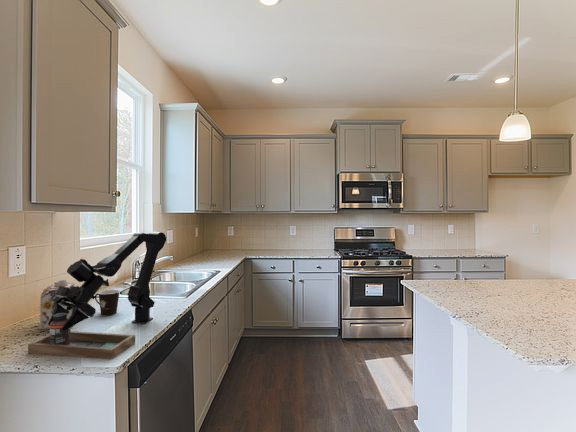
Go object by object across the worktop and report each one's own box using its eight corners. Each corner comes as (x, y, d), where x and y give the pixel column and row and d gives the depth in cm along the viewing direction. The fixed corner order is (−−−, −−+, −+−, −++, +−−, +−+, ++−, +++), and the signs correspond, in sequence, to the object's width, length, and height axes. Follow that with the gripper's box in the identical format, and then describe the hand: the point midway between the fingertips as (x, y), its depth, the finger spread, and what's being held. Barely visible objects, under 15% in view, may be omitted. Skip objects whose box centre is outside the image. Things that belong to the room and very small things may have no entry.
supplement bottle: (66, 341, 121) (67, 310, 121) (72, 346, 117) (73, 314, 117) (47, 346, 116) (47, 314, 116) (52, 351, 113) (53, 318, 112)
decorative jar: (49, 320, 143) (49, 279, 143) (80, 318, 147) (80, 277, 147) (39, 330, 132) (39, 284, 132) (73, 327, 136) (73, 283, 136)
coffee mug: (122, 313, 155) (122, 292, 155) (102, 317, 148) (102, 295, 148) (112, 308, 163) (112, 288, 162) (93, 312, 156) (93, 290, 156)
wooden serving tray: (59, 338, 124) (59, 330, 124) (135, 343, 120) (135, 335, 120) (28, 353, 111) (28, 344, 111) (111, 359, 107) (111, 349, 107)
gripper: (58, 274, 125) (23, 310, 115) (87, 279, 115) (51, 320, 106) (80, 290, 131) (49, 326, 122) (109, 297, 122) (77, 337, 113)
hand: (55, 327), depth 115 cm, fingers open, 9 cm apart
